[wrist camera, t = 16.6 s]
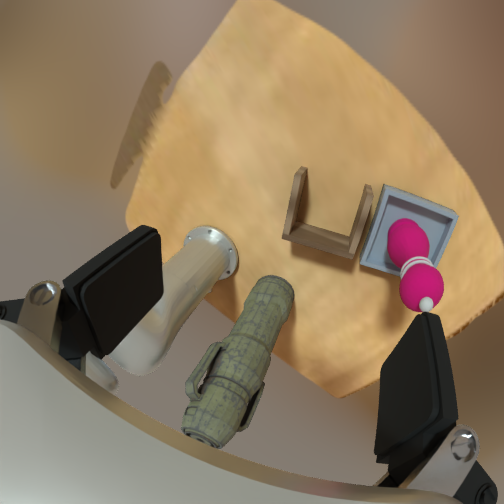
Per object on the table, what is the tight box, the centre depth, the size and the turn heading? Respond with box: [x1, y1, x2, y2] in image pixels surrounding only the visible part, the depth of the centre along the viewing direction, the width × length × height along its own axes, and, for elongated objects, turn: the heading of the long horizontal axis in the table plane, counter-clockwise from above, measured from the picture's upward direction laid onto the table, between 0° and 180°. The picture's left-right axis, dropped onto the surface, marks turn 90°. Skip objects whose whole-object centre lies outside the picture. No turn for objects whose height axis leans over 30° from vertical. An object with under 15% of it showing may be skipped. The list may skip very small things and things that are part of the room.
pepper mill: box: [387, 218, 444, 312], centre depth 33 cm, size 7×7×20 cm
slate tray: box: [360, 184, 459, 276], centre depth 41 cm, size 14×14×3 cm
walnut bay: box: [282, 166, 374, 260], centre depth 43 cm, size 11×12×6 cm
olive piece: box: [181, 275, 294, 449], centre depth 43 cm, size 9×12×35 cm
